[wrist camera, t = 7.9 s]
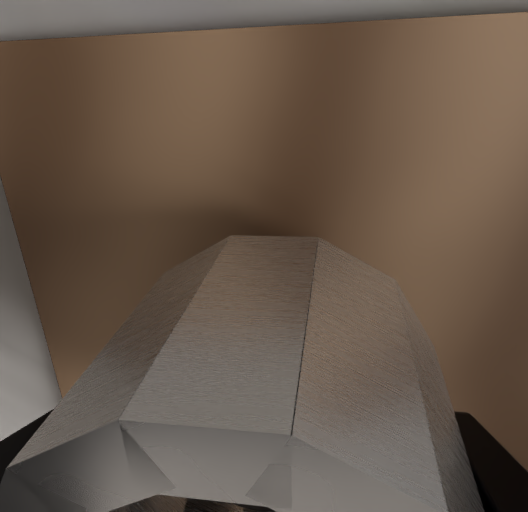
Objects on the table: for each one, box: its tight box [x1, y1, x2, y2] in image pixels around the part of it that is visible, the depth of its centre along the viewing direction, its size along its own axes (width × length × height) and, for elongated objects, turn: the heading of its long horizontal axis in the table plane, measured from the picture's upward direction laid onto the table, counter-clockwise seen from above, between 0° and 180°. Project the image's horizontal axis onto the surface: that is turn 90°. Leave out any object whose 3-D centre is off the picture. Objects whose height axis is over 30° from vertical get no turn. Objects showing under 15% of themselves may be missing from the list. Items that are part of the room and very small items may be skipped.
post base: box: [0, 12, 528, 511], centre depth 10 cm, size 14×14×6 cm
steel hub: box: [0, 235, 484, 512], centre depth 8 cm, size 6×6×5 cm
